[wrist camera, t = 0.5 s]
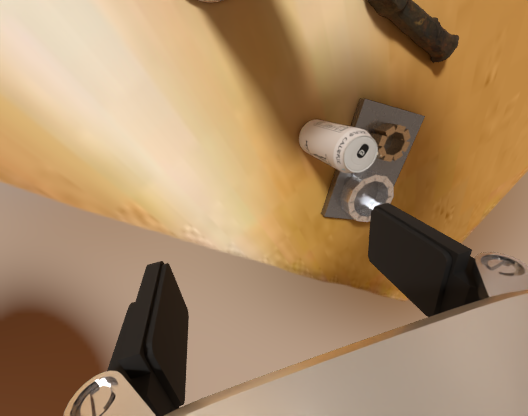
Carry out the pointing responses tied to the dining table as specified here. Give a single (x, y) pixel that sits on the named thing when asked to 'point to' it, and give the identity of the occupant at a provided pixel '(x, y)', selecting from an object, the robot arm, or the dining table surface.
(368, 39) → the dining table surface
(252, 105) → the dining table surface
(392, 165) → the manifold board
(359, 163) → the energy drink can
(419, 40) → the hand tool
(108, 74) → the dining table surface
